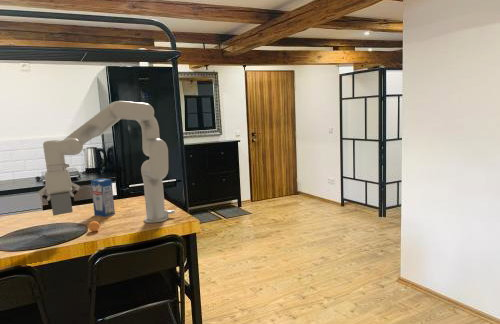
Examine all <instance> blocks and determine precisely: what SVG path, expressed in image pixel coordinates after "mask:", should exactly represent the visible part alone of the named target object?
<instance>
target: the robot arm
mask: <svg viewBox="0 0 500 324" xmlns="http://www.w3.org/2000/svg"><path fill="white" fill-rule="evenodd" d="M120 120H129V121H130V120H131V121H136V122H138V124H139V126H140V127H141V136H142V137H141V138H142V139H141V140H142V141H141V142H142V147H141V149H142V152H143V154H144V155H145V156H146V157H149V159H146V160H145V161H143V162H142V165H141V167H140V171H141V177H142V181H143V191H144V203H145V212H146V217H144V218H143V221H144V223H147V224H149V223H150V224H153V223H154V224H155V223H162V222H165V221H167V220H169V218H170V217H169V215H172V214H175V213H176V212H175V210H174V209H169V210H167V209H166V205H165V195H164V194H165V193H164V183H163V180H164V179H165V178H166V177H167V175H168V173H169V148H168V145H167V143H166V141H164V140H163V139H161V137H160V126H159V123H158V120H157V118H156V117H155V109H154V107H153V106H152V105H151V104H149V103H147V102H136V101H135V102H134V101H126V100H118V101H117V100H116V101H113V102H111V103H109V104H107V105H106V106H105V107H103V108H102V110H100V111H99V112H98V113H97V114H95V115H94V116H93V117H91V118H90V119H88V120H87V121H86V122H85V123H84V124H82V125H81V126H79V127H78V128H77V129H75V130H74V131H73V132H71V133H70V134H69V135H68V136H66V137H65V138H64V139H63V140H62V139H61V140H60V139H53V140H46V141H43V143H42V148H43V153H44V160H45V167H46V168H45V169H46V172H45V173H44V176H45V177H44V178H45V179H44V181H45V182H44V183H45V186H44V187H43V188H42V189H40V190H39V191H38V193H37V194H38V195H40V196H41V197H42V198H43V199H44V200H46V201H47V204H48V208H50V210H52V204H51V198H50V195H54V194H60V193H67V192H70V197H71V204H72V207H73V206H74V204H75V203H76V202H75V195H76V194H77V193H78V192H79V190H80V188H81V186H80V185H78V184H76V183H74V182H72V179H71V174H70V172H69V169H68V168H70V164H68V163H66V159H65V156H76V155H79V154H80V153H81V152H82V151H83V149H84V145H85V144H86V143H87V142H89V141H91V140H93V139H95V138H96V137H99V136H102V135H104V134H105V133H106V132H107V131H108V130H110V128H112V127H113V126H114V125H115V124H116V123H119V121H120ZM73 187H74V188H75V189H74V191H72V190H73ZM45 191H46V193H47V195H46V194H45V193H44V192H45Z"/></svg>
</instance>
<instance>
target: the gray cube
mask: <svg viewBox="0 0 500 324" xmlns="http://www.w3.org/2000/svg"><path fill="white" fill-rule="evenodd" d="M70 196H71V195H70V192H67V193H60V194H54V195H50V198H51V204H52V209H51V210H52V215H53V216H60V215H65V214H70V213H74V212H73V206H72V204H71V197H70Z"/></svg>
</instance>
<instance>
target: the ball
mask: <svg viewBox="0 0 500 324" xmlns="http://www.w3.org/2000/svg"><path fill="white" fill-rule="evenodd" d="M100 228H101V225H100V223H99V222H98V221H96V220H93V221H91V222H90V223H89V224H88V229H89V231H90V232H93V233H94V232H97V231H99V229H100Z"/></svg>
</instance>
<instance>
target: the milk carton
mask: <svg viewBox="0 0 500 324" xmlns="http://www.w3.org/2000/svg"><path fill="white" fill-rule="evenodd" d="M112 183H113V181H112V179H110V178H109V179H108V178H96V179H91V180H90V187H91V193H92V204H93V205H92V206H93V214H94V216H96V217H97V216H99V217H104V218H107V217H110V216H113V215H115V214H116V212H115V202H114V193H113V184H112Z"/></svg>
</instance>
